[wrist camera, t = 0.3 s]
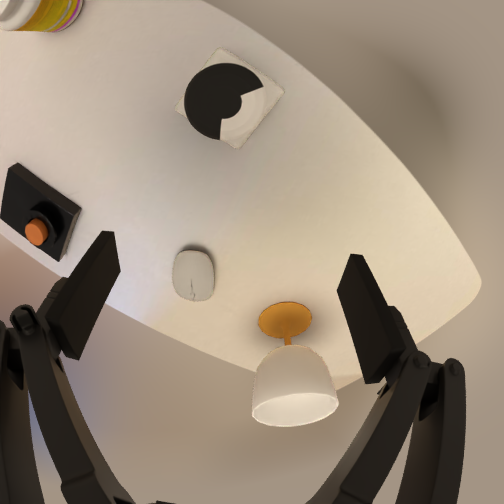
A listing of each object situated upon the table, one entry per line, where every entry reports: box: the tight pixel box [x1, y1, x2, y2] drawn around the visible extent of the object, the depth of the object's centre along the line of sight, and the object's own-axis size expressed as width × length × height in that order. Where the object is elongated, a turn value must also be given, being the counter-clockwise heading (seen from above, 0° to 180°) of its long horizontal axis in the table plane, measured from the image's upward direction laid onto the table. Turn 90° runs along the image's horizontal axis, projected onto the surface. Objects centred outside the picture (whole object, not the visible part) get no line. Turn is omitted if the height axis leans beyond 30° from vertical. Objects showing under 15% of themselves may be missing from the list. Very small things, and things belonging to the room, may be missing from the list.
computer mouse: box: [172, 250, 214, 301], centre depth 40 cm, size 6×10×3 cm, turn 173°
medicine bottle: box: [175, 47, 285, 149], centre depth 23 cm, size 7×7×12 cm
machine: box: [0, 163, 81, 262], centre depth 33 cm, size 14×10×4 cm
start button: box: [25, 219, 48, 245], centre depth 32 cm, size 4×4×2 cm
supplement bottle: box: [0, 0, 83, 32], centre depth 13 cm, size 7×7×13 cm
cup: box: [252, 302, 339, 427], centre depth 40 cm, size 12×12×17 cm
